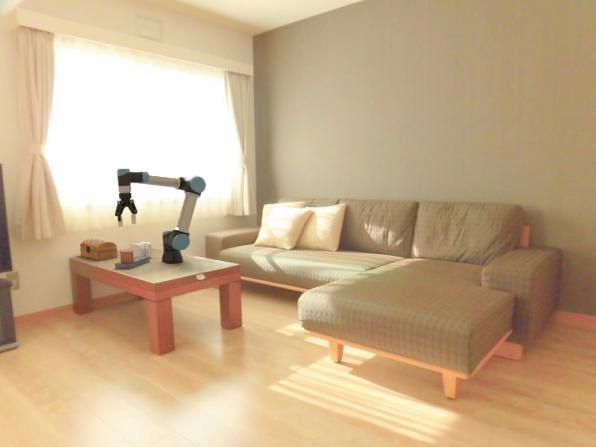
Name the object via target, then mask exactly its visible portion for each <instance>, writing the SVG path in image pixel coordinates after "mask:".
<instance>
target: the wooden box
mask: <svg viewBox="0 0 596 447" xmlns="http://www.w3.org/2000/svg"><path fill="white" fill-rule="evenodd" d="M79 249H80V250H79V251H80V256H81V257H85V258H88V259H92V260H95V261H104V260H109V258H110V259H114V258H115V257H116V258H118V255H119V253H118V248H117V244H116V243H114V242H112V241H107V240H105V239H97V238H87V239H85V240H83V241H82V242H81V243H80V244H79Z"/></svg>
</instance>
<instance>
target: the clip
mask: <svg viewBox="0 0 596 447" xmlns="http://www.w3.org/2000/svg"><path fill="white" fill-rule="evenodd" d="M119 256H120V262H129V263H132V262H134V256H133V251H131V250H121V251H119Z"/></svg>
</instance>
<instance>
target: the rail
mask: <svg viewBox="0 0 596 447" xmlns="http://www.w3.org/2000/svg"><path fill="white" fill-rule="evenodd" d="M150 259H151V257H146V256H145V257H144V256H142V257H138V256H136V257H134V262H132V263H129V262H121V261H119V262H115V263H114V268H115V269H119V270H121V269H123V270H130V269H133V268H135V267H138V266H141V265H145V264H147V263H149V262H150V261H151V260H150Z"/></svg>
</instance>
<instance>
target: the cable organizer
mask: <svg viewBox="0 0 596 447" xmlns="http://www.w3.org/2000/svg"><path fill="white" fill-rule="evenodd" d="M129 245H130V246H129V247H130V250H129V251H133V256H134V257H136V256H138V257H150V258H151V257H153V251H152V250H153V248H152V243H151V242H147V241H140V242H139V243H134V242H132V243H129Z"/></svg>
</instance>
